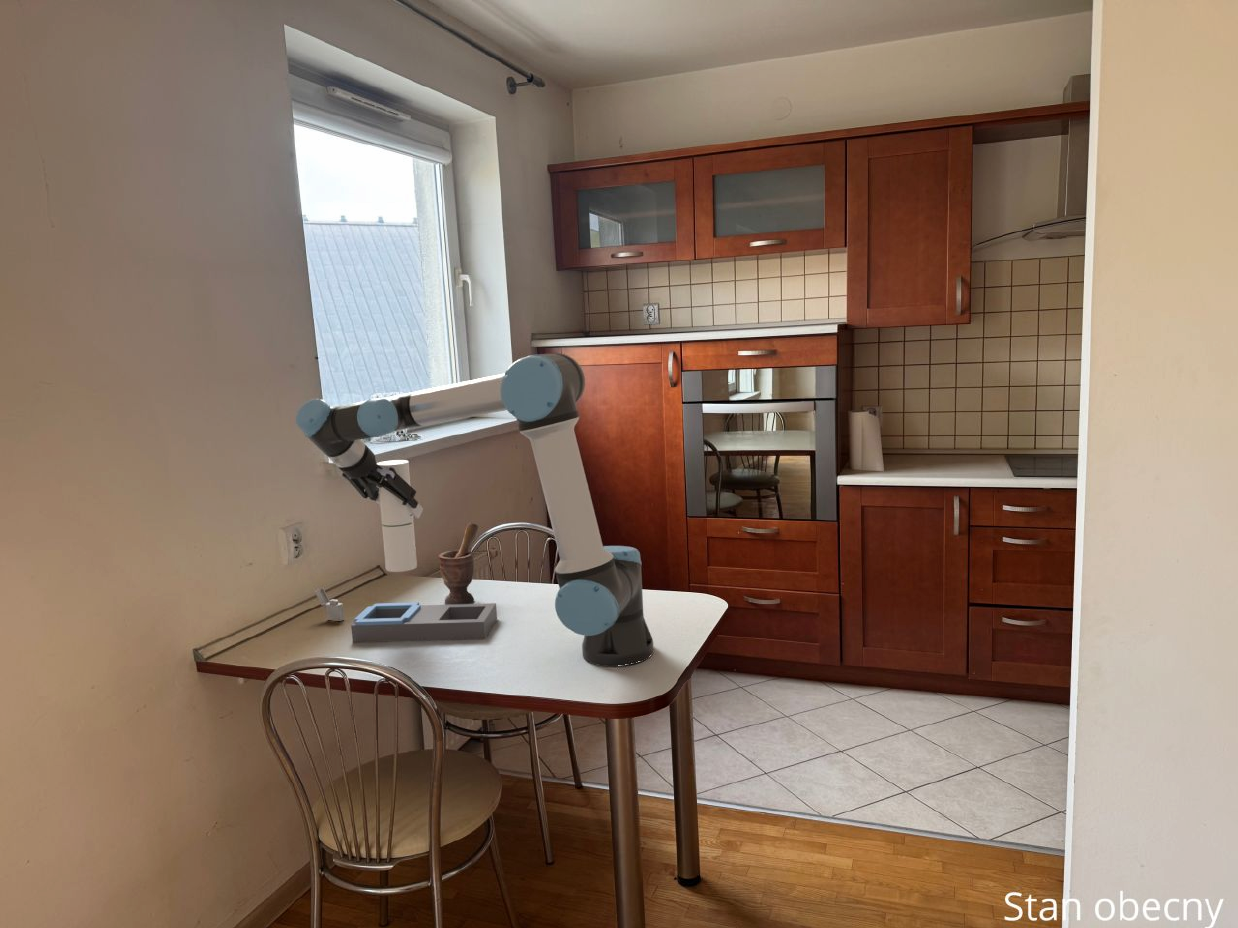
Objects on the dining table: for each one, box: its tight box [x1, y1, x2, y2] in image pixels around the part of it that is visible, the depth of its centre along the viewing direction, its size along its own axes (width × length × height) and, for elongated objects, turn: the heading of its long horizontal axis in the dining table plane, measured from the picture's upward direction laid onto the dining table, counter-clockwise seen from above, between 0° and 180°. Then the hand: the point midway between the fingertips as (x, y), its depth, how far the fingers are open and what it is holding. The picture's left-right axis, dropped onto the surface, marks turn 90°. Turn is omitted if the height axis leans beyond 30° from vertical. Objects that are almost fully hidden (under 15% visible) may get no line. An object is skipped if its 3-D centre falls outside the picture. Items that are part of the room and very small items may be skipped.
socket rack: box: [350, 601, 498, 643], centre depth 200 cm, size 31×13×5 cm, turn 86°
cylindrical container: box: [376, 459, 418, 573], centre depth 196 cm, size 7×7×25 cm
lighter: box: [314, 587, 345, 622], centre depth 211 cm, size 7×2×8 cm, turn 66°
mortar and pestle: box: [438, 522, 479, 605], centre depth 219 cm, size 12×9×20 cm
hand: (406, 512), depth 199 cm, fingers closed on cylindrical container, 7 cm apart
